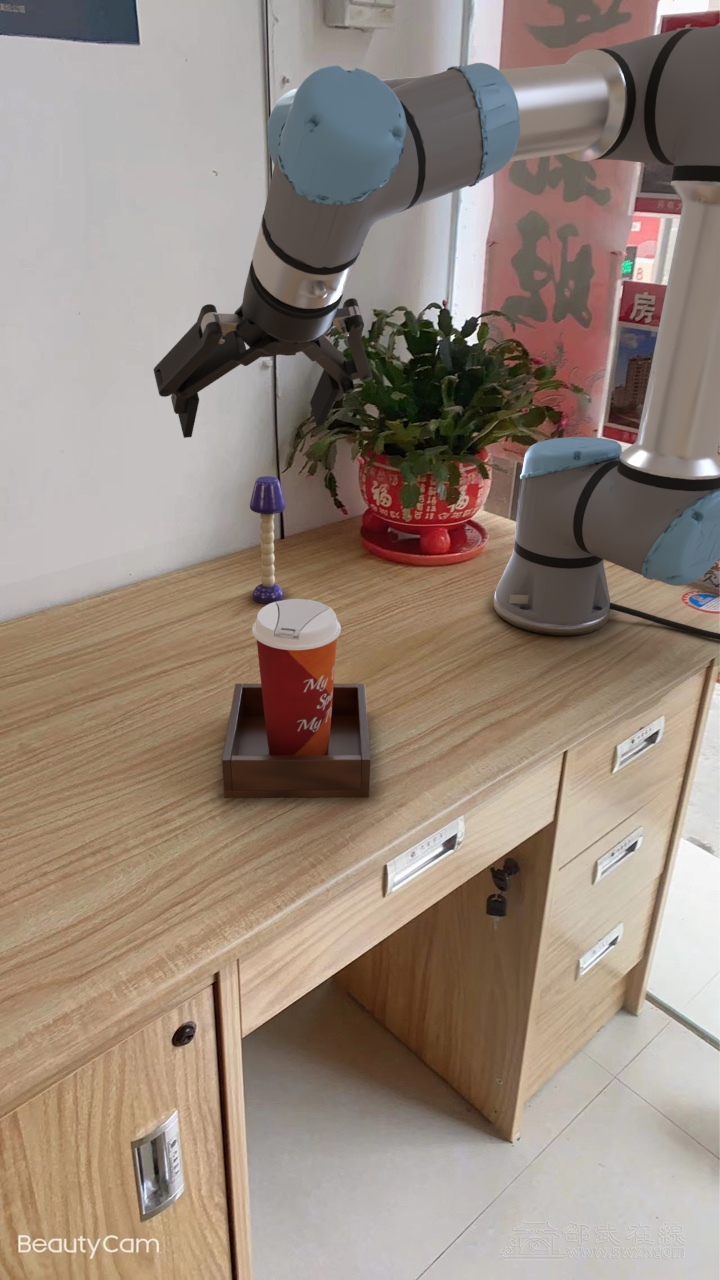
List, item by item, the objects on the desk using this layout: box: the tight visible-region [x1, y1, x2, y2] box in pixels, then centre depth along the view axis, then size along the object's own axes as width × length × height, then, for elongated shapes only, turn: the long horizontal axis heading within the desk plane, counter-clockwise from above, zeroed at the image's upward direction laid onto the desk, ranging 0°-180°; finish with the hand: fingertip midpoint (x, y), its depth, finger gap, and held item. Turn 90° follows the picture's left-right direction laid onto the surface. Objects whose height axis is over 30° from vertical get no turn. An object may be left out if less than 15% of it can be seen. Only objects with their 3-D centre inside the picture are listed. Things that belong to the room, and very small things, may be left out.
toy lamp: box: [249, 475, 287, 604], centre depth 117 cm, size 5×5×17 cm
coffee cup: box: [251, 598, 342, 755], centre depth 85 cm, size 8×8×15 cm
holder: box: [221, 683, 371, 798], centre depth 88 cm, size 14×14×4 cm
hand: (252, 419), depth 88 cm, fingers open, 13 cm apart
